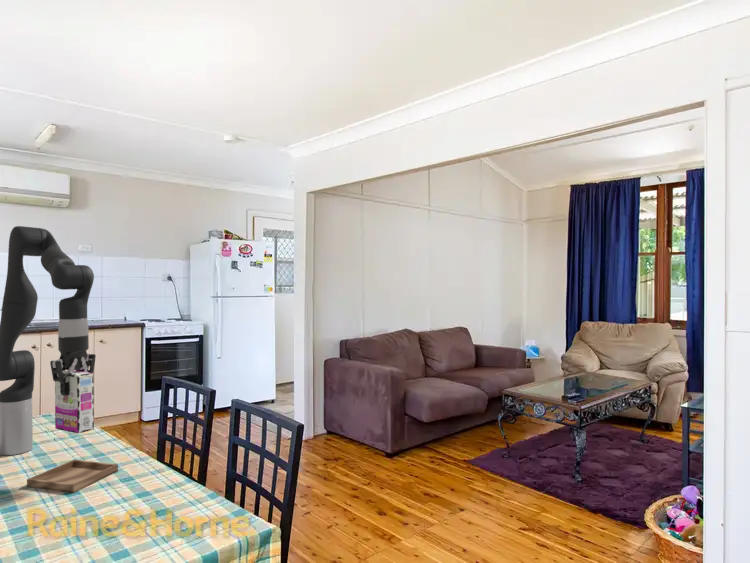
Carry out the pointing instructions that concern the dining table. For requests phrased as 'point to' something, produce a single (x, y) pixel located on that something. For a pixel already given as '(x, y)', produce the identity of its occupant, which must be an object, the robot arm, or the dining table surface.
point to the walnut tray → (72, 476)
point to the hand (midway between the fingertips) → (74, 392)
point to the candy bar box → (75, 404)
